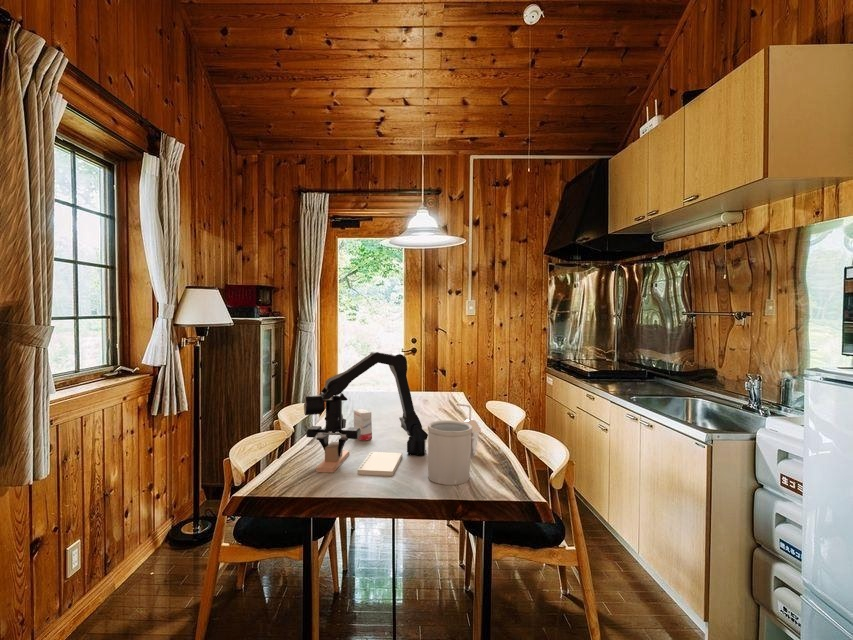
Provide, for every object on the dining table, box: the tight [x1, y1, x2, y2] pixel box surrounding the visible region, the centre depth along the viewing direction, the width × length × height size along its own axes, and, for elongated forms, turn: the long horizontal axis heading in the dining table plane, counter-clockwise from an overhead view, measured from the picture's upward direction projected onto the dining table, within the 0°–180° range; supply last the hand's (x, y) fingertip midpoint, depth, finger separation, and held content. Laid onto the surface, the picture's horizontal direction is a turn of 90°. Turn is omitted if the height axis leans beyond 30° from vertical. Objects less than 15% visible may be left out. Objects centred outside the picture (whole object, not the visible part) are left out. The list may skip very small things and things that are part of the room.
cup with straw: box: [456, 403, 482, 458], centre depth 179 cm, size 8×9×20 cm
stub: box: [315, 440, 350, 474], centre depth 169 cm, size 6×20×6 cm, turn 174°
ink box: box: [353, 408, 373, 441], centre depth 201 cm, size 9×5×12 cm, turn 33°
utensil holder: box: [427, 419, 472, 486], centre depth 155 cm, size 15×15×18 cm
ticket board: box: [357, 451, 403, 477], centre depth 167 cm, size 12×20×2 cm, turn 174°
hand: (333, 456), depth 169 cm, fingers closed on stub, 4 cm apart
